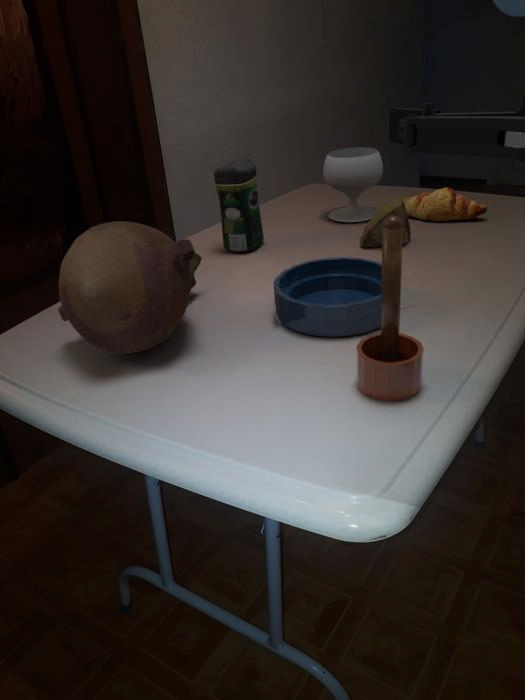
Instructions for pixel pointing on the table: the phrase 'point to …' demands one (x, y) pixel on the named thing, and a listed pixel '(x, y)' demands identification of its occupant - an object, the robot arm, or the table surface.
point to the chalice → (353, 179)
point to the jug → (126, 285)
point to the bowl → (330, 296)
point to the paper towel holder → (391, 288)
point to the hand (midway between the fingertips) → (460, 118)
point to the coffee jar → (239, 205)
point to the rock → (374, 227)
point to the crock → (389, 369)
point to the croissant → (443, 206)
